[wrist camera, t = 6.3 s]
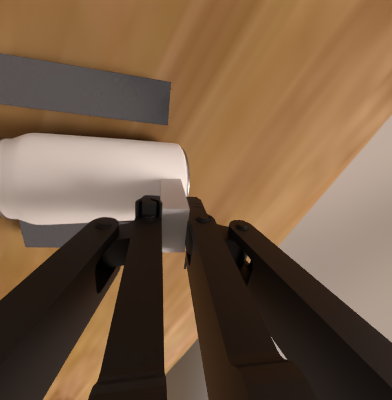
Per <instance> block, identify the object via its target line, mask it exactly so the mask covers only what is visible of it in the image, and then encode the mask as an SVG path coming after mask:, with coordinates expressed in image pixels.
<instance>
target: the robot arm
mask: <svg viewBox="0 0 392 400" xmlns="http://www.w3.org/2000/svg"><path fill="white" fill-rule="evenodd" d="M185 246H186V257H185V265H184V269H186V266H187V271H188V277H189V283H190V289H191V295H192V301H193V307H194V313H195V319H196V325H197V332H198V338H199V343H200V350H201V356H202V361H203V368H204V374H205V380H206V386H207V392H208V398H209V400H392V343H391V342H390V341H389V340H388V339H387V338H385V337H384V336H383V335H382V334H381V333H380V332H378V331H377V330H376V329H375V328H374V327H372V326H371V325H370V324H369V323H368V322H366V321H365V320H364V319H363V318H362V317H360V316H359V315H358V314H357V313H356V312H354V311H353V310H352V309H351V308H350V307H349V306H347V305H346V304H345V303H344V302H343V301H341V300H340V299H339V298H338V297H337V296H336V295H334V294H333V293H332V292H331V291H330V290H328V289H327V288H326V287H325V286H324V285H322V284H321V283H320V282H319V281H318V280H316V279H315V278H314V277H313V276H312V275H311V274H309V273H308V272H307V271H306V270H305V269H303V268H302V267H301V266H300V265H299V264H297V263H296V262H295V261H294V260H293V259H291V258H290V257H289V256H288V255H287V254H285V253H284V252H283V251H282V250H281V249H280V248H278V247H277V246H276V245H275V244H274V243H272V242H271V241H270V240H269V239H268V238H266V237H265V236H264V235H263V234H262V233H261V232H259V231H258V230H257V229H256V228H255V227H253V226H252V225H251V224H249V223H247V222H245V221H241V220H234V221H231V222H230V223H229V227H227V226H222V225H218V224H217V223H216V221H215V219H214V218H213V217H212V216H210V215H208V214H207V213H206V211H205V209H204V206H203V205H202V202H201V200H200V199H198V198H197V197H186V195H185V191H184V188H183V184H182V181H181V179H161V182H160V196H154V195H144V196H143V197H142V198H140V199H138V200H136V202H135V220H134V221H132V222H130V223H126V224H120V225H119V222H118V220H116V219H115V218H111V217H100V218H97V219H94V220H92V221H91V222H89V223H88V224H87V225H86V226H85V227H83V228H82V229H81V230H80V231H79V232H78V233H77V234H75V235H74V236H73V237H72V238H71V239H70V240H69V241H67V242H66V243H65V244H64V245H63V246H62V247H61V248H60V249H58V250H57V251H56V252H55V253H54V254H53V255H52V256H50V257H49V258H48V259H47V260H46V261H45V262H44V263H42V264H41V265H40V266H39V267H38V268H37V269H36V270H34V271H33V272H32V273H31V274H30V275H29V276H28V277H26V278H25V279H24V280H23V281H22V282H21V283H20V284H19V285H17V286H16V287H15V288H14V289H13V290H12V291H11V292H9V293H8V294H7V295H6V296H5V297H4V298H3V299H1V300H0V400H43V398H44V396H45V395H46V393H47V391H48V390H49V388H50V386H51V385H52V383H53V381H54V380H55V378H56V376H57V375H58V373H59V371H60V369H61V368H62V366H63V364H64V363H65V361H66V359H67V358H68V356H69V354H70V353H71V351H72V349H73V348H74V346H75V344H76V343H77V341H78V339H79V338H80V336H81V334H82V333H83V331H84V329H85V328H86V326H87V324H88V323H89V321H90V319H91V317H92V316H93V314H94V312H95V311H96V309H97V307H98V306H99V304H100V302H101V301H102V299H103V297H104V296H105V294H106V292H107V291H108V289H109V287H110V286H111V284H112V282H113V281H114V279H115V277H116V276H117V274H118V272H119V270H120V267H121V266H122V265H124V269H123V273H122V278H121V282H120V287H119V291H118V296H117V300H116V304H115V309H114V313H113V318H112V322H111V327H110V331H109V336H108V340H107V345H106V349H105V354H104V358H103V362H102V367H101V371H100V375H99V378H98V381H97V383H96V384H95V385H94V386H93V388H92V390H91V393H90V395H89V399H88V400H167V389H166V376H165V372H164V327H163V267H162V252H185ZM247 256H248V257H249V258H250V259H251V262H250V264H249V263H248V262H247V261H246V258H247ZM271 337H272V338H273V340H274V341H275V343H276V344H277V346H278V347H279V348H280V350H281V351H282V353H283V354H284V355H285V357H286V358H287V360H285V359H283V358H282V357H281V356H280V354H279V352H278V351H277V349H276V347H275V344H274V342H273V340H272V338H271Z"/></svg>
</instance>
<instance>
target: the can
mask: <svg viewBox="0 0 392 400" xmlns="http://www.w3.org/2000/svg"><path fill="white" fill-rule="evenodd" d="M161 179H181V181H182V184H183V188H184V191H185V195H186V197H189V184H190V175H189V164H188V159H187V155H186V153H185V151H184V149H183V148H182V147H180V146H179V145H178V144H176V143H166V142H154V141H141V140H128V139H115V138H102V137H89V136H75V135H61V134H47V133H27V134H24V135H21V136H18V137H15V138H12V139H11V138H8V137H0V217H2V218H3V219H5V220H10V221H12V220H16V219H19V220H22V221H25V222H28V223H31V224H35V225H53V224H74V223H89V222H91V221H92V220H94V219H97V218H100V217H111V218H115V219H116V220H118V221H130V220H135V202H136V200H138V199H140V198H142V197H143V196H144V195H154V196H160V182H161Z"/></svg>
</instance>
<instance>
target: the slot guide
mask: <svg viewBox="0 0 392 400" xmlns="http://www.w3.org/2000/svg"><path fill="white" fill-rule="evenodd" d="M170 86H171V82H167V81H161V80H155V79H150V78H144V77H138V76H132V75H126V74H120V73H114V72H108V71H102V70H96V69H90V68H84V67H78V66H73V65H67V64H61V63H55V62H49V61H43V60H37V59H31V58H25V57H19V56H13V55H7V54H1V53H0V104H3V105H11V106H19V107H27V108H35V109H43V110H51V111H59V112H66V113H74V114H82V115H90V116H98V117H106V118H114V119H122V120H129V121H137V122H145V123H153V124H161V125H168V114H169V100H170ZM132 221H134V220H130V221H118V222H119V225H120V224H126V223H130V222H132ZM19 223H20V227H21V231H22V235H23V239H24V243H25V247H62V246H63V245H64V244H65V243H66V242H67V241H69V240H70V239H71V238H72V237H73V236H74V235H75V234H77V233H78V232H79V231H80V230H81V229H82V228H83V227H85V226H86V225H87V224H88V223H74V224H53V225H35V224H31V223H28V222H25V221H22V220H19Z"/></svg>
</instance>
